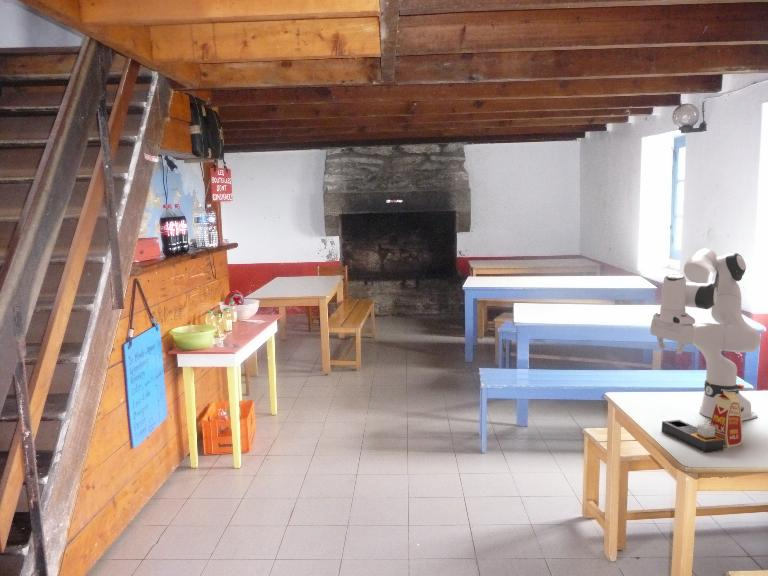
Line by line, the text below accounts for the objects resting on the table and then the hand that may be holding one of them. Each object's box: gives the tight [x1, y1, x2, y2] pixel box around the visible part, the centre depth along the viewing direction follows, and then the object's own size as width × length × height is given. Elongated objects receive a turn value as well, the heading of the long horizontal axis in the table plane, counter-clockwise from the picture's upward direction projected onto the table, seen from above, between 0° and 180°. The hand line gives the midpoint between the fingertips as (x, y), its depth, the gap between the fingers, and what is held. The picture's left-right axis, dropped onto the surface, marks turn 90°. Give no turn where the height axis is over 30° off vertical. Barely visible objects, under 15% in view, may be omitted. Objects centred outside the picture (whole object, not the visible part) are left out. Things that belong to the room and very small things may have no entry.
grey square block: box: [696, 423, 715, 440], centre depth 219 cm, size 4×4×8 cm
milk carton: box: [709, 391, 743, 449], centre depth 224 cm, size 9×9×20 cm
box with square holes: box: [661, 419, 725, 454], centre depth 226 cm, size 8×22×4 cm, turn 15°
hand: (670, 350), depth 237 cm, fingers open, 8 cm apart
